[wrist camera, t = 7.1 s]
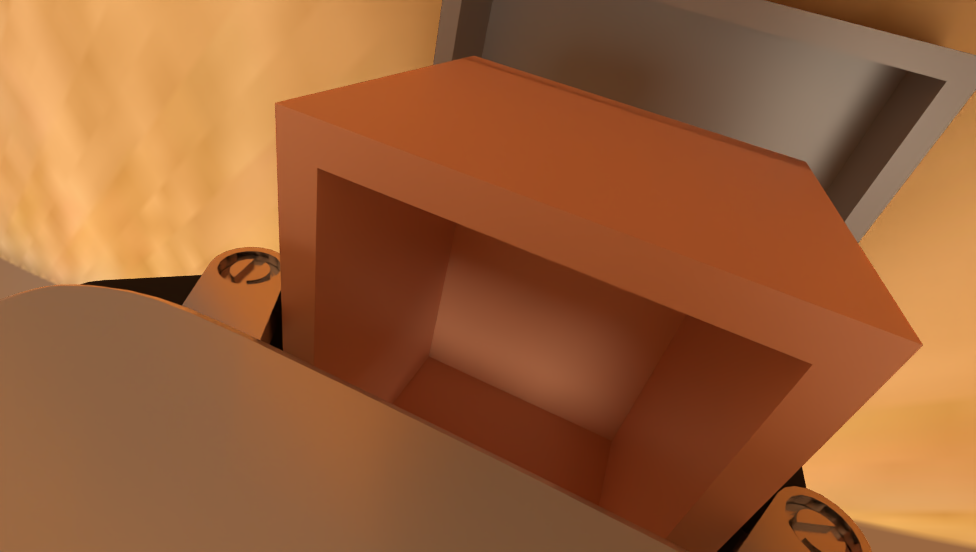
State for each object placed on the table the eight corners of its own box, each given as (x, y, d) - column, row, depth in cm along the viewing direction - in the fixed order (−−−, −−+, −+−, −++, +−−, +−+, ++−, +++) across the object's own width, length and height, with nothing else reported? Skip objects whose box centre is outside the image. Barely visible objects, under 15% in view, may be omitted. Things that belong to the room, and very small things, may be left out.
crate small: (473, 55, 10) (275, 102, 6) (806, 161, 9) (923, 344, 4) (418, 351, 15) (288, 510, 11) (627, 447, 14) (587, 680, 9)
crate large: (494, -69, 18) (454, -81, 15) (943, 49, 15) (998, 61, 12) (438, 235, 25) (404, 264, 23) (729, 354, 22) (732, 405, 20)
